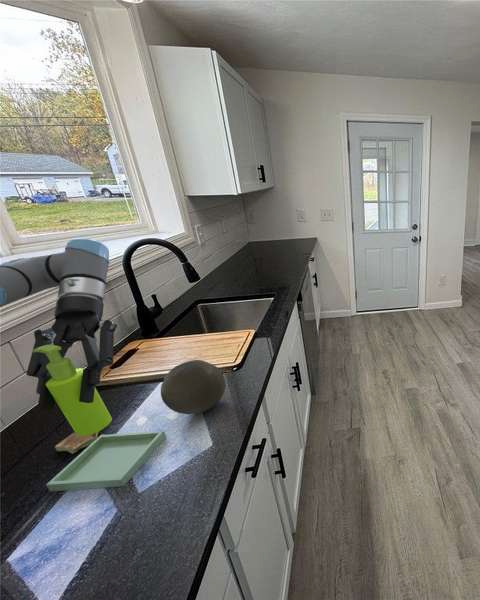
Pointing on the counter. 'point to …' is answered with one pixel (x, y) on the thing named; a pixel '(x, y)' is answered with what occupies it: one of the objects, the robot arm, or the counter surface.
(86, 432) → the soap dispenser
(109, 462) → the green tray
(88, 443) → the shard
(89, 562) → the counter surface
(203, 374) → the dark grey rounded lump
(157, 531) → the counter surface
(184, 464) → the counter surface
